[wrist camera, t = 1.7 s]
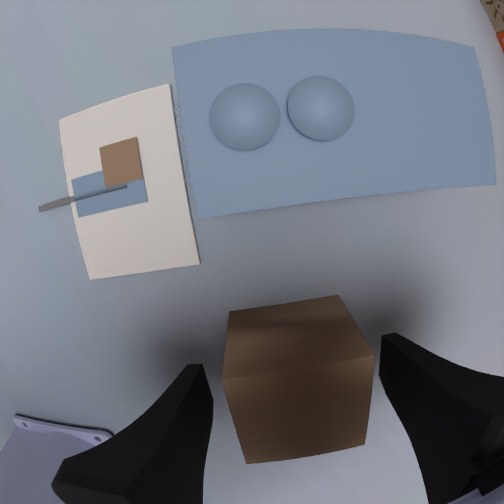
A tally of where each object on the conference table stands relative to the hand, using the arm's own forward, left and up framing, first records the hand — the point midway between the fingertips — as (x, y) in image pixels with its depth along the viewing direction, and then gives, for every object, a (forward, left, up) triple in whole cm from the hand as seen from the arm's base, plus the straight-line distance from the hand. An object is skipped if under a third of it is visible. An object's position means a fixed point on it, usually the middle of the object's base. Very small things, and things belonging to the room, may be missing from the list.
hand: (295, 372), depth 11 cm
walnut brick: (0, 0, -2) cm, 2 cm away
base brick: (+2, +9, -2) cm, 10 cm away
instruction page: (-6, +8, -2) cm, 10 cm away
